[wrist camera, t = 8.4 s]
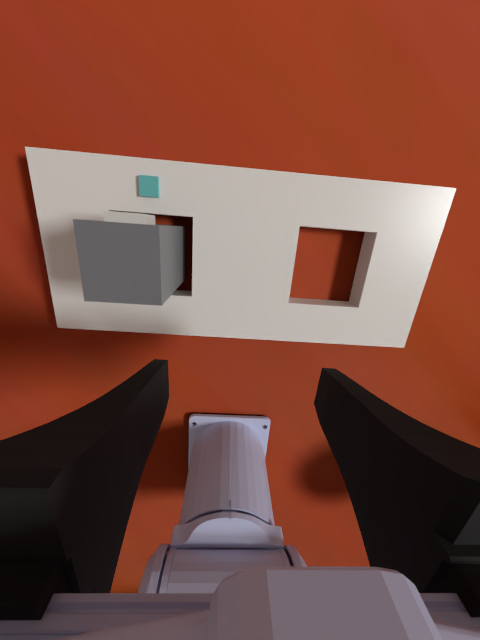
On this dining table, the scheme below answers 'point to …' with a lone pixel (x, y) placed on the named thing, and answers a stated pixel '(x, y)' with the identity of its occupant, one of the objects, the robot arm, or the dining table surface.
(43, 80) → the dining table surface
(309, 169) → the dining table surface
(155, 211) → the panel
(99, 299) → the plug
